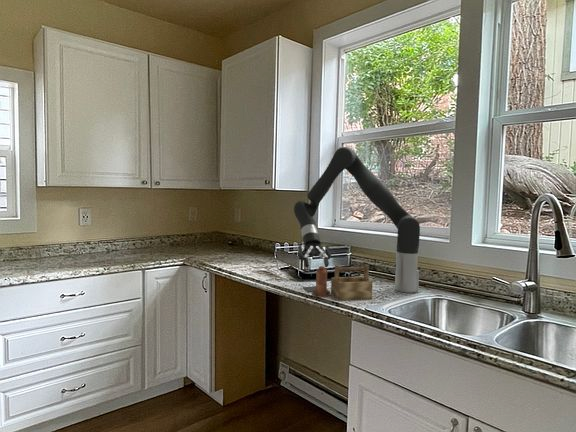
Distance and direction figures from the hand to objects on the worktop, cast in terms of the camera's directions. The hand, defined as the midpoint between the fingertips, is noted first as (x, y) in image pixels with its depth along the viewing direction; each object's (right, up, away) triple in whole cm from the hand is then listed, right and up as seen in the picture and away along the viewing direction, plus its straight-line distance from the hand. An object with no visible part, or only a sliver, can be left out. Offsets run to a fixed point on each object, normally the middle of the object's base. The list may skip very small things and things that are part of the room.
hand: (317, 266), depth 170 cm
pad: (-1, -11, +4) cm, 12 cm away
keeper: (+1, -11, -5) cm, 13 cm away
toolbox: (+14, -12, -5) cm, 19 cm away
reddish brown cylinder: (+1, -11, -5) cm, 13 cm away
